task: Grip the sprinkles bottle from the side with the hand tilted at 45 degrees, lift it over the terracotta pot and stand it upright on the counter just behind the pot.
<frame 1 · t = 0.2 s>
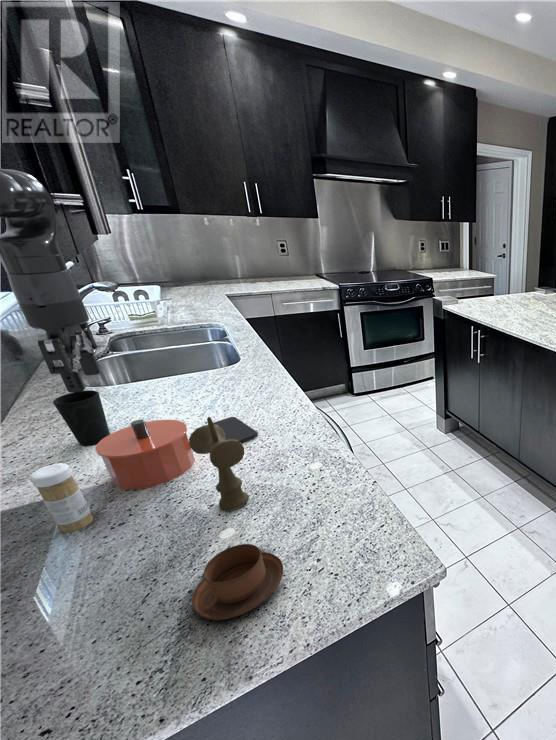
hand: (85, 382, 77), 24 cm above the countertop, tool pointing down, fingers open, 8 cm apart
pot: (158, 475, 89), on the countertop
cup: (95, 440, 101), on the countertop
pot lid: (143, 438, 85), point 9 cm above the countertop, touching pot
sprinkles bottle: (80, 531, 74), on the countertop
kendama: (235, 504, 82), on the countertop
phone: (231, 432, 106), on the countertop
cup and saucer: (242, 591, 64), on the countertop
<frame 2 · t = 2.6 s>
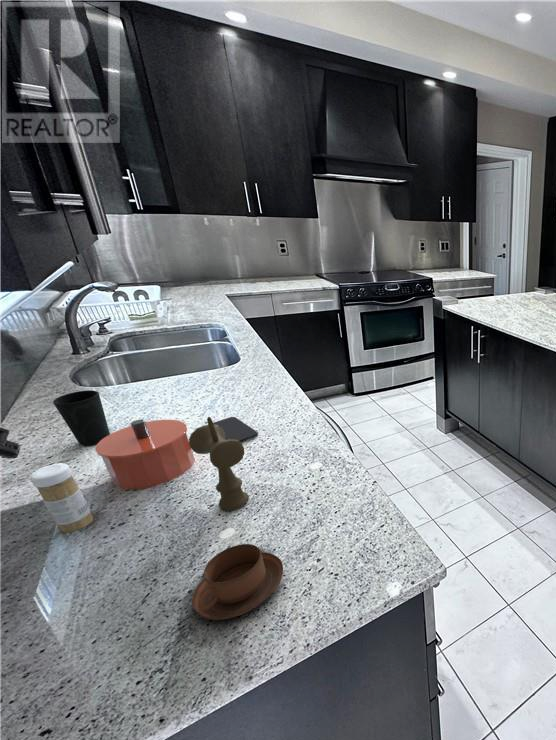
nothing on the countertop moved.
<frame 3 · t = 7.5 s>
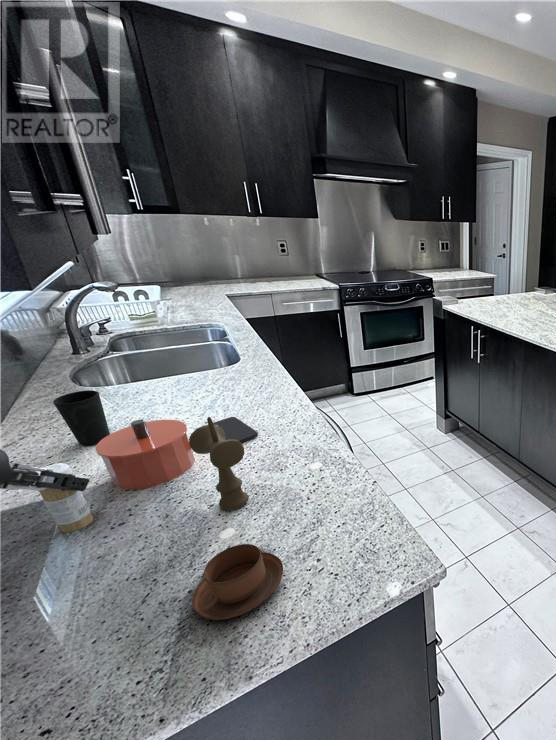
hand: (71, 483, 72), 9 cm above the countertop, tool tilted 45°, fingers closed on sprinkles bottle, 4 cm apart
sprinkles bottle: (80, 531, 74), on the countertop, touching gripper
everything else where it was.
when the fingers open (9 cm above the countertop, at t = 18.9 s): sprinkles bottle stays where it is, on the countertop.
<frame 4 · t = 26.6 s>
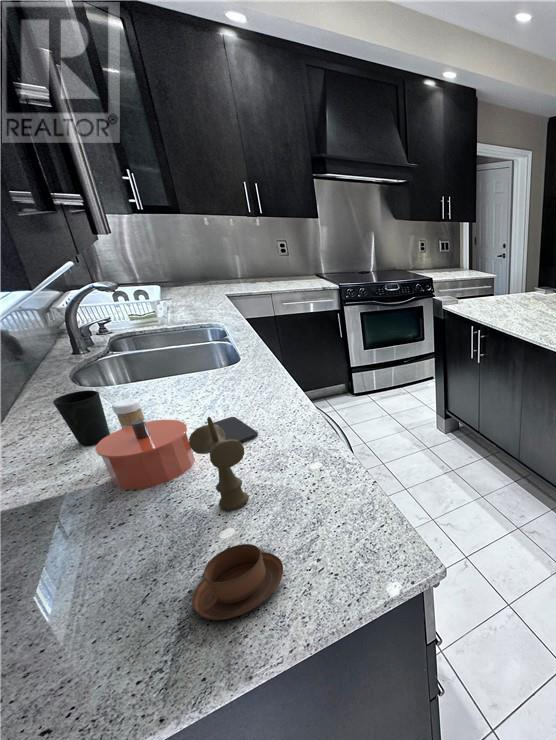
sprinkles bottle: (145, 452, 97), on the countertop
everything else where it was.
at the end: sprinkles bottle inside the target area on the countertop beside the pot (0.4 cm from its centre), on the countertop; sprinkles bottle tilted 0°; the gripper is holding nothing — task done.
